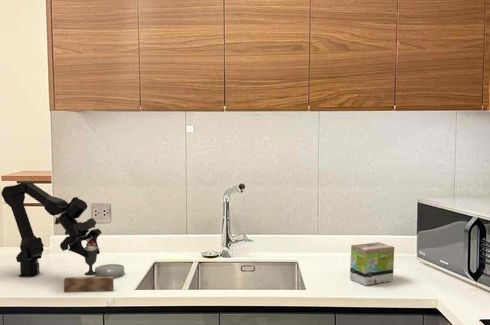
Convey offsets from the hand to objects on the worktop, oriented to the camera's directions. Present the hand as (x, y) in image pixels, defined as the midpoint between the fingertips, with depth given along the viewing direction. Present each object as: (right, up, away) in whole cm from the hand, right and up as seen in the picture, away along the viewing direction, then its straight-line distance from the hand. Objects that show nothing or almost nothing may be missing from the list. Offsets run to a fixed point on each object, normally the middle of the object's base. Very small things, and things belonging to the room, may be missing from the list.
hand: (93, 255), depth 189 cm
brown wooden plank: (0, -12, -7) cm, 14 cm away
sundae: (-1, -8, +1) cm, 8 cm away
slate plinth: (+3, -11, +14) cm, 18 cm away
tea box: (+113, -12, +8) cm, 114 cm away
